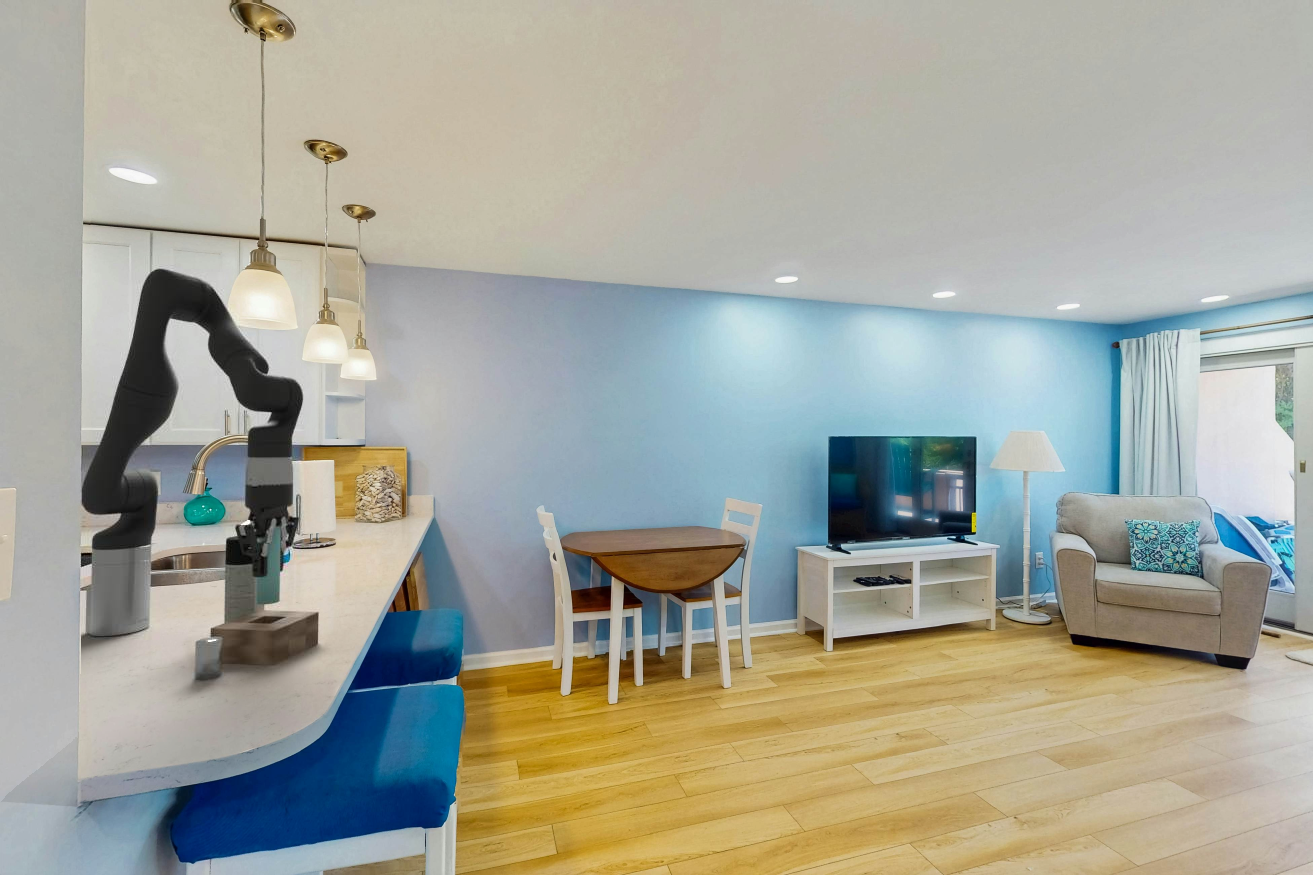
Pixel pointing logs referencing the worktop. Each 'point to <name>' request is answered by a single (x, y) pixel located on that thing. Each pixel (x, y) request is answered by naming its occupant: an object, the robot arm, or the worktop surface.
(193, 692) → the worktop surface
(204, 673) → the short pin
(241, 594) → the spray can
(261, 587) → the long pin
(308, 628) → the socket block
